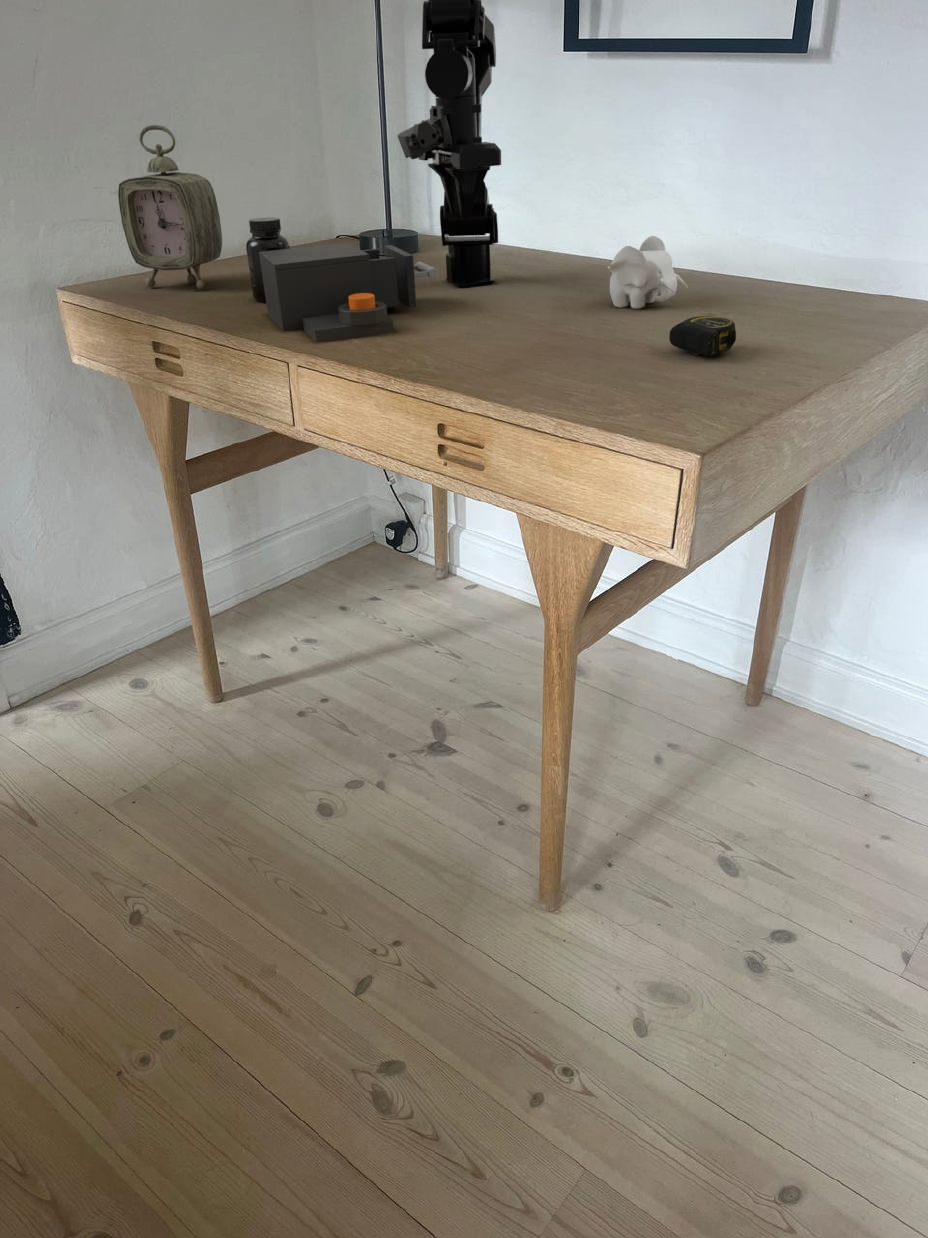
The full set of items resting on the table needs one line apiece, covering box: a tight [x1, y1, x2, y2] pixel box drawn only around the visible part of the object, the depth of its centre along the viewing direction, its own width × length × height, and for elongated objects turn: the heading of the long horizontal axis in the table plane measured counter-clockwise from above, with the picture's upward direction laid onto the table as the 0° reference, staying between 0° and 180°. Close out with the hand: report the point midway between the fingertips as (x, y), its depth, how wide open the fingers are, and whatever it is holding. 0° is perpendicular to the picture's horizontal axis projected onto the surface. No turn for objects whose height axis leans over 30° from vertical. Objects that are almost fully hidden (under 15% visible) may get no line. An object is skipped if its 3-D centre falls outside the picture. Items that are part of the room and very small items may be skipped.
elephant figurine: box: [606, 235, 688, 310], centre depth 133 cm, size 10×12×9 cm
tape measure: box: [668, 315, 737, 357], centre depth 112 cm, size 7×7×4 cm
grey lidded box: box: [259, 242, 373, 332], centre depth 135 cm, size 14×12×9 cm
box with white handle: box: [361, 244, 439, 309], centre depth 137 cm, size 17×10×7 cm, turn 111°
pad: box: [302, 301, 394, 343], centre depth 128 cm, size 11×9×4 cm
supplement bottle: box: [245, 216, 291, 303], centre depth 146 cm, size 7×7×12 cm
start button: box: [348, 293, 375, 310], centre depth 126 cm, size 4×4×2 cm
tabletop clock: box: [117, 124, 223, 291], centre depth 155 cm, size 14×9×25 cm, turn 68°
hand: (460, 216), depth 137 cm, fingers open, 4 cm apart
